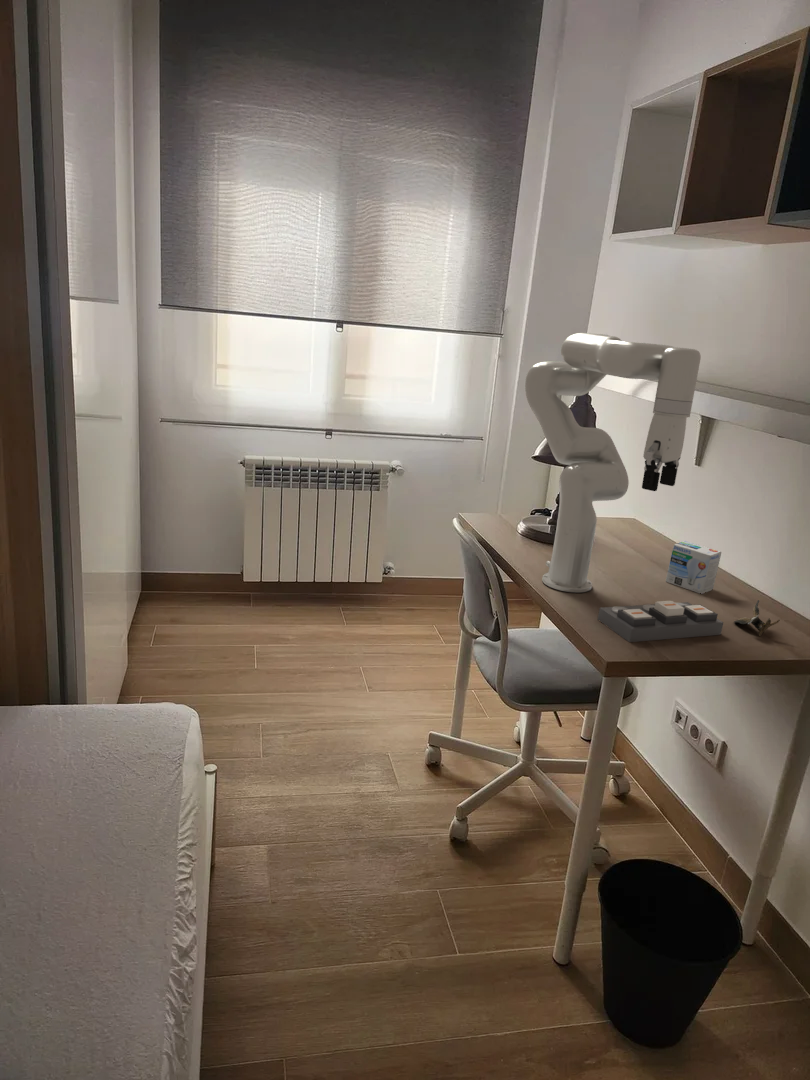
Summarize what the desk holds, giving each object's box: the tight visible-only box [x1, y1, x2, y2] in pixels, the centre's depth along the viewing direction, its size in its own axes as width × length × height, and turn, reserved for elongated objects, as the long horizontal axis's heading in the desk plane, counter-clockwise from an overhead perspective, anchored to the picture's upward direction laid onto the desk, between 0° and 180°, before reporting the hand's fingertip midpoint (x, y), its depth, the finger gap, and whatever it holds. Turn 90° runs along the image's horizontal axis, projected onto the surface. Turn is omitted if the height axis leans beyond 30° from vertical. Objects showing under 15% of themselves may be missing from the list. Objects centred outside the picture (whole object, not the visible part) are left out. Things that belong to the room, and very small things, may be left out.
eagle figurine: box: [733, 599, 781, 637], centre depth 180 cm, size 8×7×9 cm
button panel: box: [597, 601, 724, 643], centre depth 176 cm, size 12×25×5 cm, turn 111°
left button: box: [623, 609, 652, 619], centre depth 170 cm, size 4×4×2 cm
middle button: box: [654, 600, 684, 616], centre depth 173 cm, size 4×4×2 cm
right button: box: [685, 604, 714, 615], centre depth 177 cm, size 4×4×2 cm
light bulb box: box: [665, 540, 722, 595], centre depth 205 cm, size 11×7×11 cm, turn 45°
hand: (658, 487), depth 168 cm, fingers open, 9 cm apart
